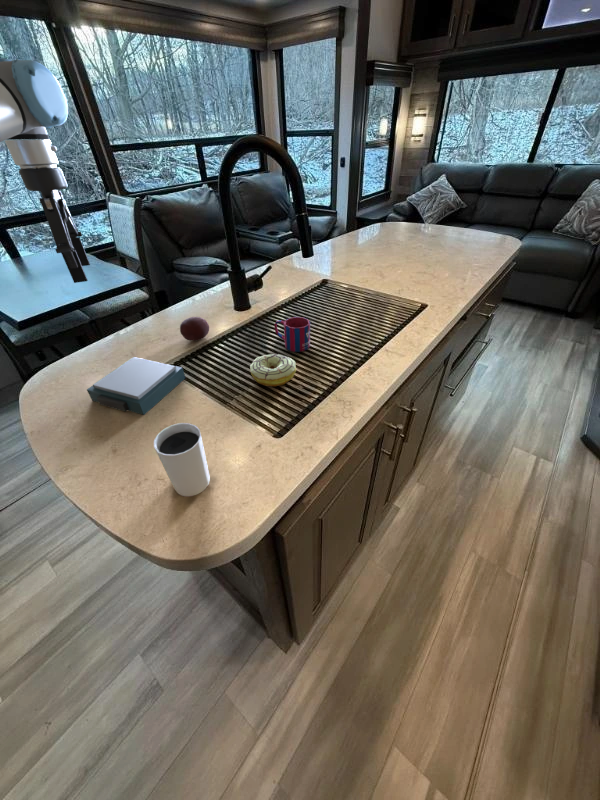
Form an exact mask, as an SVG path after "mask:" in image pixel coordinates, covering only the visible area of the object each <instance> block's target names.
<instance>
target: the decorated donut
mask: <svg viewBox="0 0 600 800" xmlns="http://www.w3.org/2000/svg"><path fill="white" fill-rule="evenodd" d="M249 369H250V375H251V377H252V378H253V380H254V381H255V382H256V383H258V384H260V385H262V386H266V387H278V386H284V385H285V384H287V383H288V382H290V381H291V380H292V379H293V378H294V376H295V374H296V372H297V366H296V361H295V360H294V359H292V358H291V357H289V356H286V355H284V354H279V353H278V354H277V353H273V354H264V355H261V356H257V357H256V358H255V359H254V360H253V361H252V362H251V364H250V366H249Z"/></svg>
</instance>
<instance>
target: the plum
mask: <svg viewBox="0 0 600 800" xmlns="http://www.w3.org/2000/svg"><path fill="white" fill-rule="evenodd" d="M179 332H180V335H181V336H182V337H183V338H184V339H185V340H187V341H194V342H195V341H201V340H203V339H204V338H206V336H208V334H209V332H210V325H209V323H208V322H207V320H206V319H204V318H203V317H200V316H190V317H188V318H186V319H184V320H182V321H181V323H180V326H179Z"/></svg>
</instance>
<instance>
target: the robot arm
mask: <svg viewBox="0 0 600 800" xmlns="http://www.w3.org/2000/svg"><path fill="white" fill-rule="evenodd" d="M68 106H69V105H68V101H67V97H66V94H65V92H64V91H63V88H62V87H61V84H60V82H59V81H58V79H57V78H56V76H55V75H54V73H52V71H50V69H49V68H47V67H46V66H45V65H44V64H42V63H41V62H39V61H36V60H32V59H21V58H15V59H10V58H5V57H4V58H3V57H0V143H1V142H5V144H6V147H7V149H8V151H9V154H10V156H11V158H12V161H13V163H14V165H16V166H17V167H19V171H18V174H19V175H20V177H21V180H22V182H23V184H24V187H25V188H26V190H27V191H30V192H40V194H41V198H39V203H40V205H41V207H42V209H43V212H44V214H45V218H46V220H47V223H48V226H49V229H50V232H51V234H52V237H53V241H54V243H55V246H56V248H54V249H55V252H56V254H61V256H62V258H63V260H64V263H65V265H66V267H67V270H68V272H69V274H70V276H71V279H72V282H73V284H78V283H83V282H84V283H85V282H88V278H87V275H86V273H85V271H84V267H85V266H86V267H87V266H90V265H91V263H90V260H89V258H88V255H87V253H86V251H85V250H86V249H85V247H84V245H83V243H82V242H83V241H82V240H81V237H83V234H82V232H81V231H79V228H77V225H76V223H75V221H74V219H73V216H72V214H71V212H70V210H69V207H68V206H67V202H66V200H65V198H64V196H63V193H62V191H61V190H66V189H67V188H68V182H67V180H66V177H65V176H64V172H63V170H62V168H60V167H58V166H57V165H59V160H58V157H57V155H56V152H58V148H57V146H56V145H52V142H51V140H50V136H49V134H48V131H47V129H50V128H53V127H57V126H58V127H59V126H62V125H63V124H64V123H66V121H67V119H68V116H69V107H68Z"/></svg>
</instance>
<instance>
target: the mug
mask: <svg viewBox="0 0 600 800" xmlns="http://www.w3.org/2000/svg"><path fill="white" fill-rule="evenodd" d="M278 324H281V325H283V332H284V333H283V334H284V335H283V334H281V333H280V331H279V329H278ZM274 332H275V334H276V335H277V337H278V338H280V339H281V340H282V341H284V347H285V349H286V350H287V351H289V352H293V353H301V352H305V351H307V350H309V348H310V347H311V321H310V320H309V319H308V318H307V317H306V318H305V317H302V316H293V317H289V318H286V319H285V320H281V319H278V320H276V321H275V323H274Z"/></svg>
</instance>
